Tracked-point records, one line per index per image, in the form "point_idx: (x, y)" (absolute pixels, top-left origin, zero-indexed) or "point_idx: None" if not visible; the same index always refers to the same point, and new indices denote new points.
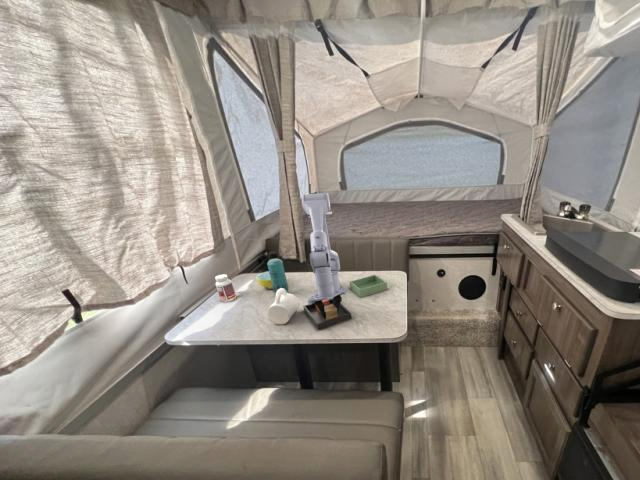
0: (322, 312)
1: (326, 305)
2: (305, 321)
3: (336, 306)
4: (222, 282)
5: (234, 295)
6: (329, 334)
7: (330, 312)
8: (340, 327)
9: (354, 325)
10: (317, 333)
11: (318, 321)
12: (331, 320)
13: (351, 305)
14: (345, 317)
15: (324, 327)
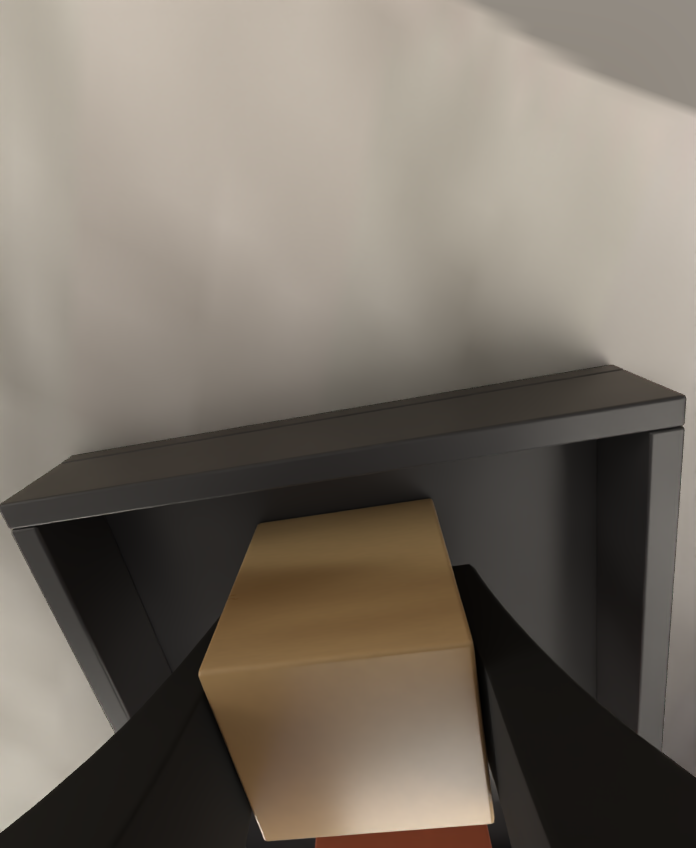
0: (543, 657)
1: (366, 841)
2: (681, 652)
3: (182, 733)
4: None
5: None
6: (494, 126)
7: (359, 616)
8: (268, 280)
9: (33, 234)
10: (664, 266)
11: (546, 569)
12: (382, 437)
13: (67, 740)
14: (134, 464)
15: (511, 384)
